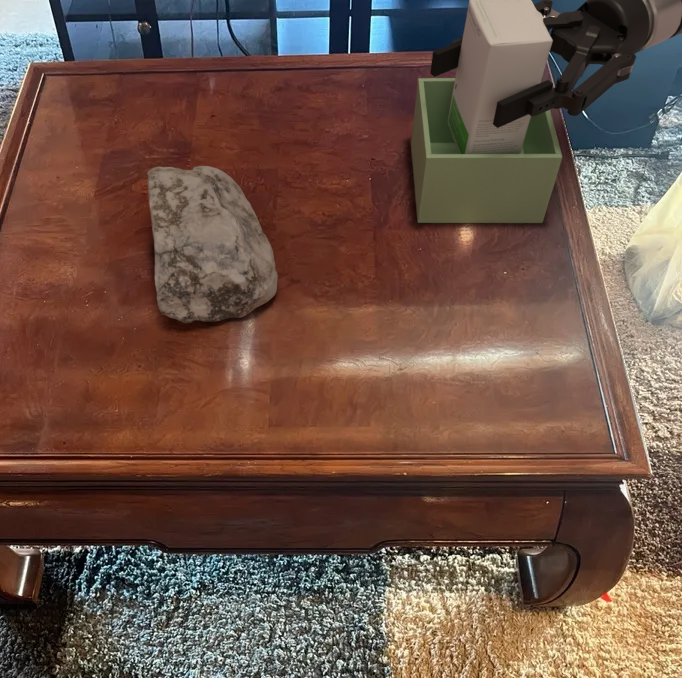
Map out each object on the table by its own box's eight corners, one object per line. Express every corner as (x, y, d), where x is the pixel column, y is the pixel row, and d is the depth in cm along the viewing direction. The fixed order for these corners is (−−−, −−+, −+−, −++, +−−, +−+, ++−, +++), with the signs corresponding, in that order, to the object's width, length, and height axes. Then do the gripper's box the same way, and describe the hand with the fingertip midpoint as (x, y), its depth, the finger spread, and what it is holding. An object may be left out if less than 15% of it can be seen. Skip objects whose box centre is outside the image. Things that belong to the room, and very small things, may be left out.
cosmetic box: (446, 123, 94) (465, -4, 82) (502, 117, 94) (529, -10, 82) (464, 170, 89) (487, 43, 76) (523, 164, 89) (555, 36, 77)
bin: (542, 223, 92) (562, 157, 85) (417, 223, 93) (426, 157, 86) (525, 143, 101) (541, 77, 94) (410, 143, 102) (418, 78, 94)
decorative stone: (136, 200, 95) (141, 139, 87) (247, 199, 99) (262, 140, 90) (154, 342, 86) (161, 289, 78) (276, 335, 89) (295, 284, 81)
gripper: (692, 101, 86) (530, 177, 80) (548, 7, 98) (398, 67, 92) (719, 37, 80) (547, 115, 74) (563, -54, 92) (403, 6, 86)
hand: (464, 88), depth 83 cm, fingers closed on cosmetic box, 10 cm apart
